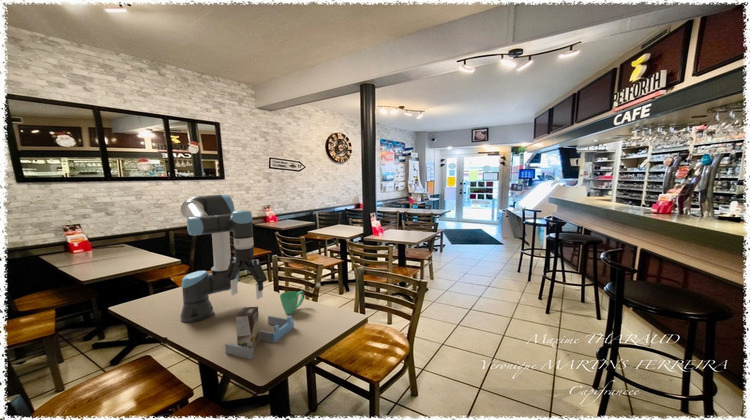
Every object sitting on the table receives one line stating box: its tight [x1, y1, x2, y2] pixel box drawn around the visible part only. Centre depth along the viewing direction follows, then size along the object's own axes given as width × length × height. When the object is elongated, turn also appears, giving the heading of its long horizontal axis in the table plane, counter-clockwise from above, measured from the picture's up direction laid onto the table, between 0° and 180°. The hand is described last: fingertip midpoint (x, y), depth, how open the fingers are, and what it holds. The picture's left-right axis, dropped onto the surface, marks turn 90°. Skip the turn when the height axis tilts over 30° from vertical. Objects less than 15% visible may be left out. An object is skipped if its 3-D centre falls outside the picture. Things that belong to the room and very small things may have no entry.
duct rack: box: [224, 315, 295, 360], centre depth 130 cm, size 15×27×7 cm, turn 160°
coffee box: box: [235, 306, 261, 352], centre depth 124 cm, size 9×6×16 cm
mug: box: [279, 290, 305, 315], centre depth 158 cm, size 15×10×10 cm
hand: (246, 296), depth 122 cm, fingers open, 13 cm apart
